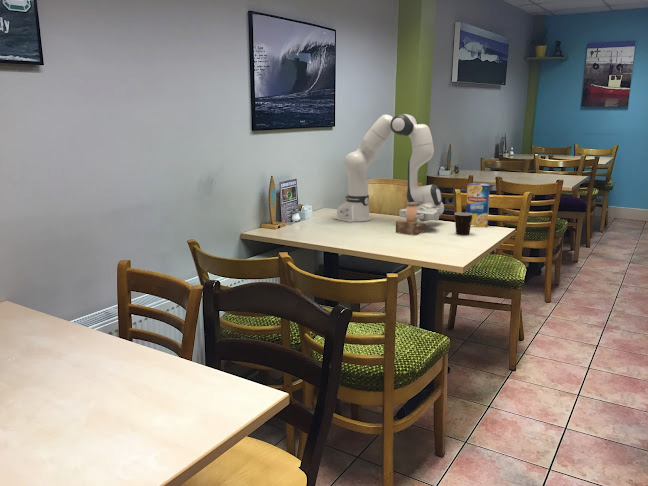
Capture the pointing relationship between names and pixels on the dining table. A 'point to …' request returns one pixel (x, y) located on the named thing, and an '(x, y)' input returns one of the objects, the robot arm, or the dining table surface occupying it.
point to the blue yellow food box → (478, 203)
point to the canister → (411, 212)
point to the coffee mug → (463, 223)
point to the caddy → (409, 228)
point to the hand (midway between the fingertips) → (410, 216)
